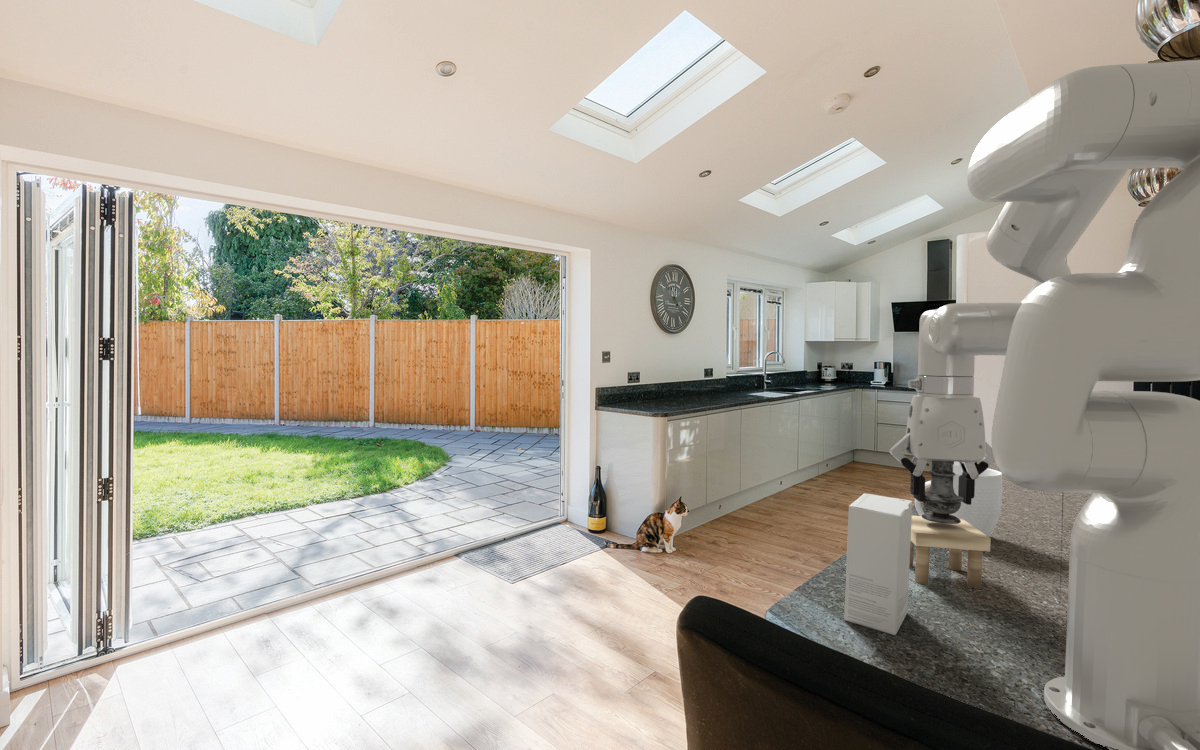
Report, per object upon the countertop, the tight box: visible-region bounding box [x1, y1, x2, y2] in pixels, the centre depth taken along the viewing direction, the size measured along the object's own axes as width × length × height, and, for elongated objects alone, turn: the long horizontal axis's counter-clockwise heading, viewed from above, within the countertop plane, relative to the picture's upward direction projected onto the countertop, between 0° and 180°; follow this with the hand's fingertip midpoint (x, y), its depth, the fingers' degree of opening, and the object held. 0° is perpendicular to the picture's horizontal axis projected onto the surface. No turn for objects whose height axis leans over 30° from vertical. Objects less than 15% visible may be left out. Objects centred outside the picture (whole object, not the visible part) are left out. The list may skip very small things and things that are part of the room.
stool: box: [909, 515, 992, 590], centre depth 88 cm, size 10×10×8 cm
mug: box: [914, 463, 1004, 537], centre depth 108 cm, size 15×11×13 cm
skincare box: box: [843, 493, 913, 636], centre depth 73 cm, size 8×7×16 cm
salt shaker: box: [922, 460, 964, 524], centre depth 87 cm, size 6×6×12 cm
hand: (941, 499), depth 87 cm, fingers closed on salt shaker, 5 cm apart
